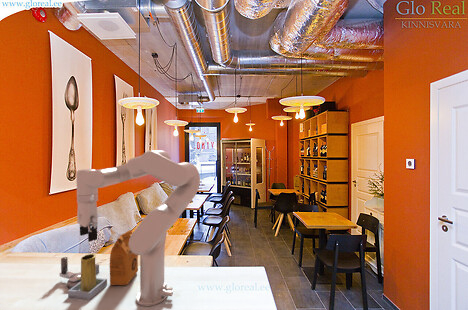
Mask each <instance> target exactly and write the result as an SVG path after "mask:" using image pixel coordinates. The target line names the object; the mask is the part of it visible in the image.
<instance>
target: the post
mask: <svg viewBox="0 0 468 310" xmlns="http://www.w3.org/2000/svg"><path fill="white" fill-rule="evenodd" d="M95 266H96V275H98V274H99V273H100V264H98V263H97V264H96V263H95Z"/></svg>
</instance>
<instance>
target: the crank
mask: <svg viewBox="0 0 468 310" xmlns="http://www.w3.org/2000/svg"><path fill="white" fill-rule="evenodd" d="M68 262H69V261H68V256H64V257H62V258H60V269H61V270H60V272H59V277H60V278H64V279H68V280H69V282H71V283H75V282H79V281H81V272H76V273H75V272H71V271H68V270H69V269H68V267H69V266H68Z"/></svg>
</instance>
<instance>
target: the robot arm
mask: <svg viewBox="0 0 468 310" xmlns="http://www.w3.org/2000/svg"><path fill="white" fill-rule="evenodd" d="M145 176H152V177H154V178H156V179H157V180H160V181H162V182H164V183H166V184H167V185H169V186H172V187H174V189H173V190H172V192H171V193H170V194H169V196H168V197H167V198H166V199H165V200H164V202H163V203H161V204H160V205H158V206H156V207H154V208H153V209H152V210H150V211H149V212H148V213H147V215H146V216H145V217H144V218H143V219H142V221H141V222H140V223H139V224H138V226H137V227H136V228H135V230H134V231H132V234H131V235H130V236H131V237H130V239H129V248H130V250H131V252H132V253H134V254H136V255H138V256H140V257H139V258H140V259H139V261H140V262H139V263H140V265H139V267H140V268H139V275H140V279H139V280H140V281H139V282H140V284H139V287H140V288H139V289H140V290H139V291H138V292H137V294H136V297H135V300H136V303H137V304H138V305H140V306H144V307H151V306H155V305H159V304H160V303H162V302H163V301H165V299H167V297H173V293H174V291H173V289H174V288H173V287H172V286H171V287H168V284H167V282H165V252H166V251H165V249H166V248H165V247H166V240H167V231H168V230H169V229H170V228H171V227H172V226H174V225H175V223H176V222H177V221H178V219H180V216H181V215H182V214H183V212H184V211H185V210H186V208H187V207H188V206H189V205H190V203H191V202H192V201H193V199H194V198H195V196H197V192H198V191H199V188H200V184H201V176H200V171H199V170H198V168H197V167H196V166H195V165H194V164H193V163H191V162H187V161H186V162H185V161H183V162H180V163H177V162H175V161H174V160H171V156H170V155H169V153H168V152H167V151H165V150H160V149H159V150H158V149H157V150H155V149H154V150H148V151H145V152H144V153H143V154H142V155H139V156H136V157H132V158H129V159H128V160H127V162H126V163H124V164H121V165H118V166H114V167H107V168H101V169H94V168H83V169H78V170H77V171H76V203H77V211H76V212H77V214H76V215H77V216H76V218H77V219H76V222H77V224H78V225H79V236H86V235H87V240H88V242H92V241H96V240H98V224H99V223H98V221H99V220H98V218H99V217H98V206H97V202H99V190H98V189H100V188H106V187H109V186H112V185H116V184H119V183H123V182H127V181H129V180H134V179H135V180H136V179H140V178H143V177H145Z"/></svg>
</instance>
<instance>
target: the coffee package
mask: <svg viewBox="0 0 468 310" xmlns="http://www.w3.org/2000/svg"><path fill="white" fill-rule="evenodd" d="M132 233H133V231H132V229H129V230H128V231H126V232H124V233H121V235H120V236H119V237H118V238H117V239H116V241H115V243H114V245H113V246H112V247H111V250H110V256H109V285H110V286H115V285H116V286H117V285H118V286H126V285H129V283H130V281H132V279H133V278H134V277H135V276H136V274H137V273H138V271H139V263H138V262H139V261H138V260H139V259H138V257H139V255H136V254H134V253H132V252H131V250H130V248H129V239H130V237H131V235H132Z"/></svg>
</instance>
